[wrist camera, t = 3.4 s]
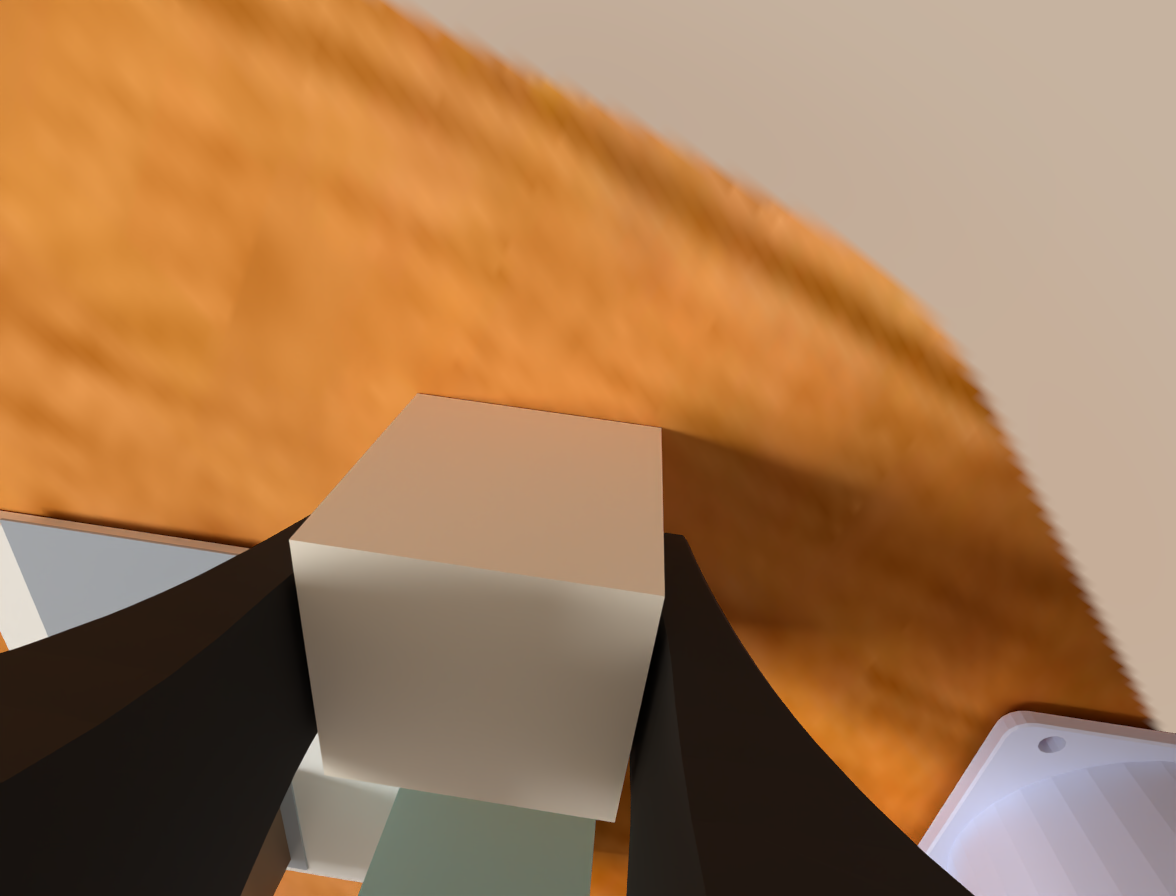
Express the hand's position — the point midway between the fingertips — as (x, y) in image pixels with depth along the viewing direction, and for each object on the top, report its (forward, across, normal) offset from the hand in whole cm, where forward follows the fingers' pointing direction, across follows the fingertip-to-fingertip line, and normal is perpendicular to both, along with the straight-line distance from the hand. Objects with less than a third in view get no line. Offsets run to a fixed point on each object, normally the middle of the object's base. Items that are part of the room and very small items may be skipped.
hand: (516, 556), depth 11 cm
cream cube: (+1, 0, 0) cm, 1 cm away
